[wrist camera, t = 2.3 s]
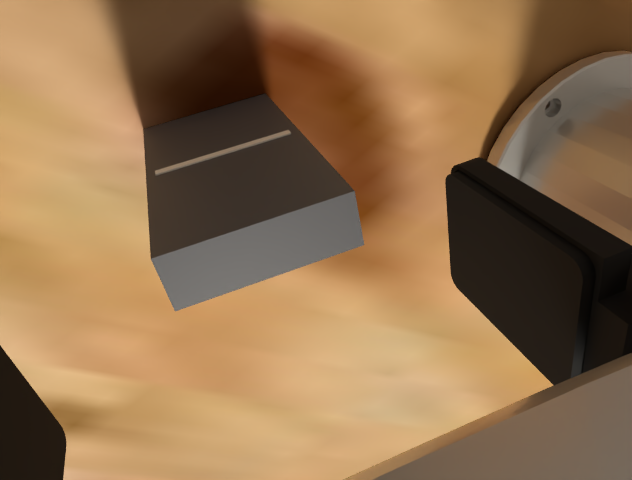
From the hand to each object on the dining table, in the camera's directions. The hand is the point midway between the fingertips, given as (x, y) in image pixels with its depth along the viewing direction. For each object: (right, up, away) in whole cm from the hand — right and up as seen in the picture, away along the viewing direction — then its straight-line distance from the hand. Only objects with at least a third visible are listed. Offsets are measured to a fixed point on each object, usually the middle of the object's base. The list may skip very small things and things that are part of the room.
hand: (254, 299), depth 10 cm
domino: (-3, +6, +10) cm, 12 cm away
